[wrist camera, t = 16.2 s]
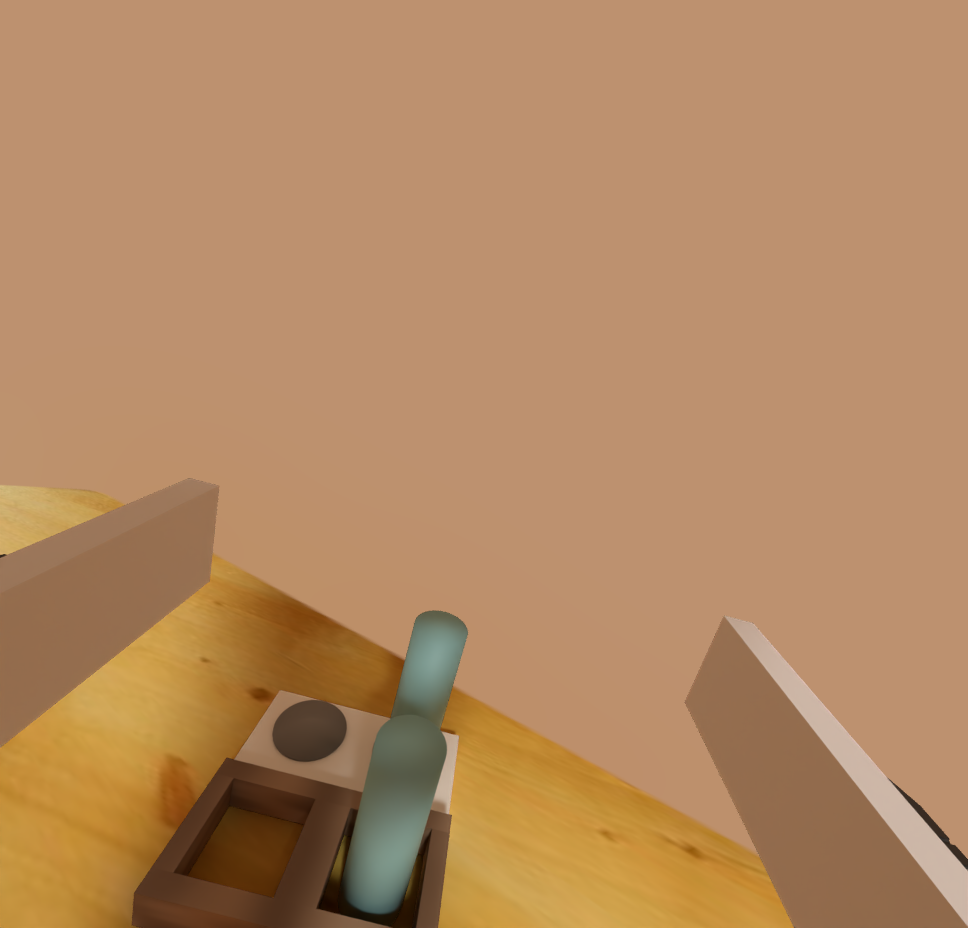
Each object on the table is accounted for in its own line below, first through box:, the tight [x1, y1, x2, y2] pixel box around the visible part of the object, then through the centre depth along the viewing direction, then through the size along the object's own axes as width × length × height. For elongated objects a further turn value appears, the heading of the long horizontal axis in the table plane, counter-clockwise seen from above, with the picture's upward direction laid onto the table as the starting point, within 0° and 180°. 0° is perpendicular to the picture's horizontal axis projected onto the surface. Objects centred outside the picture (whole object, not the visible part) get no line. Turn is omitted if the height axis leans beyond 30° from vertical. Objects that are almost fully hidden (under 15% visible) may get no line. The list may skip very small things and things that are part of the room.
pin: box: [390, 611, 468, 729], centre depth 35 cm, size 4×4×12 cm
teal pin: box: [338, 715, 447, 927], centre depth 27 cm, size 4×4×12 cm
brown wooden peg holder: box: [132, 758, 452, 928], centre depth 28 cm, size 16×8×2 cm, turn 85°
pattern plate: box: [234, 690, 459, 814], centre depth 36 cm, size 16×8×1 cm, turn 85°
